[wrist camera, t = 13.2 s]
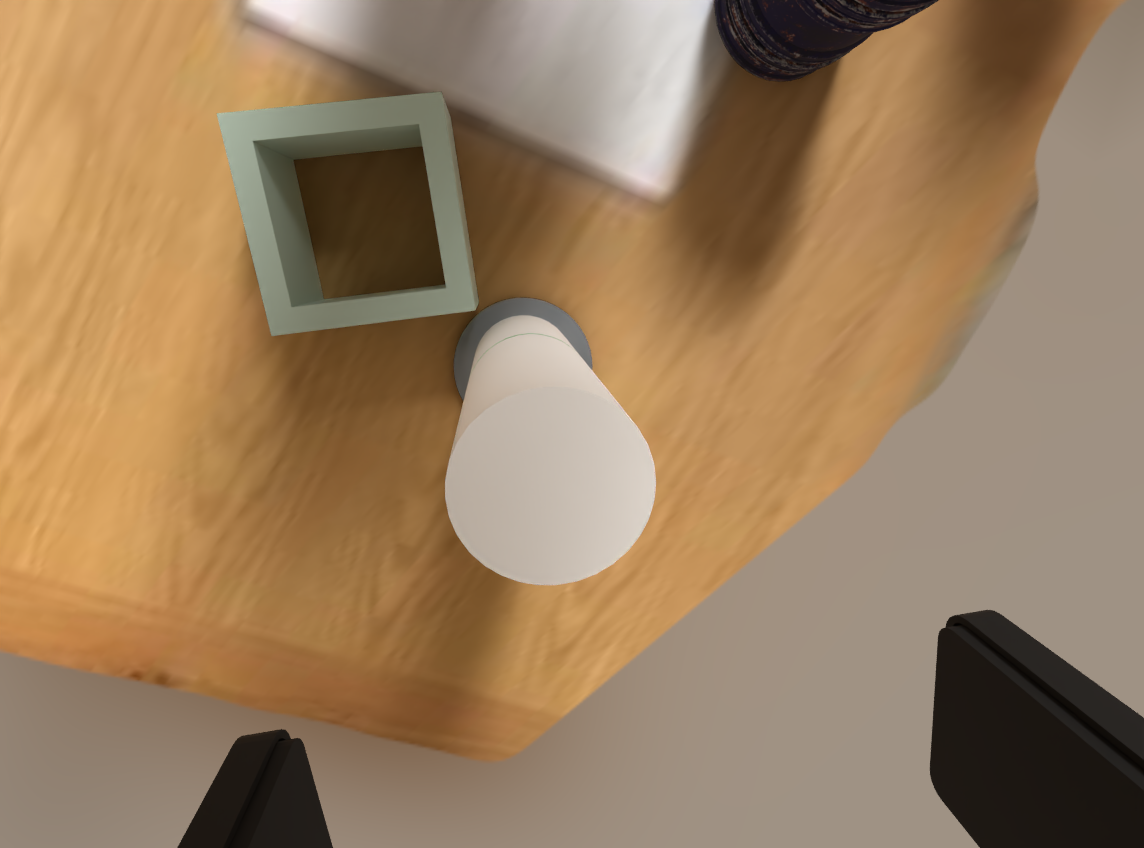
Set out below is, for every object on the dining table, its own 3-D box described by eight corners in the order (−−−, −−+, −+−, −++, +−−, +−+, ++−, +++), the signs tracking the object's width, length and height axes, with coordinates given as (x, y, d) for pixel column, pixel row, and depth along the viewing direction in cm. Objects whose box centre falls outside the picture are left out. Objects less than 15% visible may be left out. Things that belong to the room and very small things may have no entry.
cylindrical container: (469, 407, 45) (435, 577, 21) (479, 308, 44) (456, 373, 20) (565, 418, 46) (636, 592, 22) (579, 322, 45) (673, 400, 21)
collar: (264, 137, 40) (216, 113, 33) (450, 118, 41) (441, 91, 34) (306, 323, 43) (271, 336, 37) (479, 302, 44) (475, 310, 38)
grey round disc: (443, 306, 44) (442, 307, 43) (583, 289, 45) (584, 289, 44) (466, 440, 47) (465, 443, 46) (597, 422, 48) (599, 424, 47)
